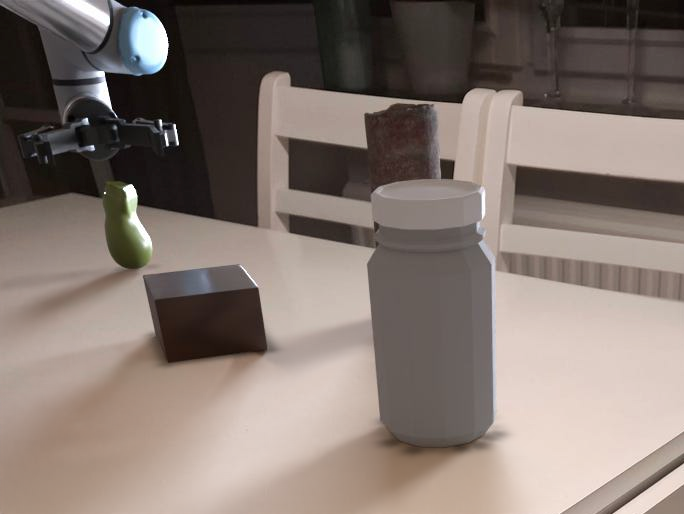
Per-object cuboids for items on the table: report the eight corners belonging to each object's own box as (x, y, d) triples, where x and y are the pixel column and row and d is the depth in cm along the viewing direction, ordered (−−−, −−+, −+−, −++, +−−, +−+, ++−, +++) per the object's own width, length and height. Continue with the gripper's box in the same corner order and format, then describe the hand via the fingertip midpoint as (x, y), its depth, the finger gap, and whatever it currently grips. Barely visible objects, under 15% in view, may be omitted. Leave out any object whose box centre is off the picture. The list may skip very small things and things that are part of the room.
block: (167, 363, 99) (154, 299, 95) (155, 335, 106) (142, 274, 103) (267, 349, 102) (258, 287, 98) (249, 322, 109) (239, 263, 105)
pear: (121, 263, 131) (102, 177, 125) (161, 262, 131) (144, 176, 125) (107, 274, 127) (86, 186, 121) (149, 273, 127) (130, 185, 120)
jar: (410, 401, 89) (395, 174, 78) (513, 414, 86) (513, 179, 75) (361, 442, 82) (337, 198, 71) (471, 458, 79) (464, 206, 68)
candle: (403, 332, 105) (388, 110, 93) (367, 316, 110) (348, 103, 98) (462, 318, 109) (455, 102, 96) (425, 303, 113) (414, 95, 101)
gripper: (185, 149, 150) (208, 172, 134) (9, 164, 143) (11, 191, 128) (174, 90, 145) (197, 107, 130) (-9, 103, 139) (-8, 123, 123)
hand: (105, 149), depth 129 cm, fingers open, 13 cm apart
